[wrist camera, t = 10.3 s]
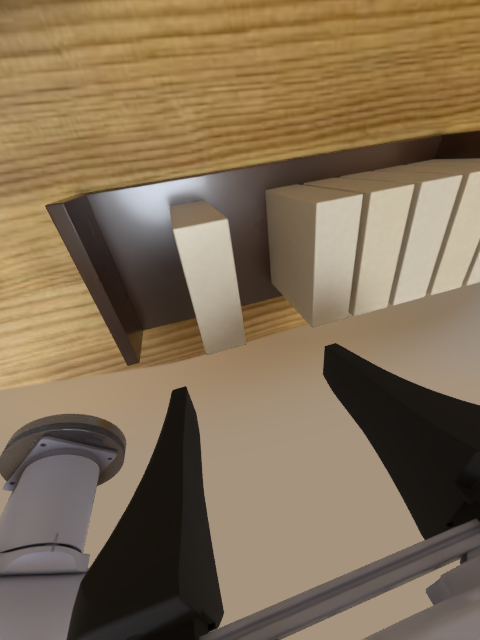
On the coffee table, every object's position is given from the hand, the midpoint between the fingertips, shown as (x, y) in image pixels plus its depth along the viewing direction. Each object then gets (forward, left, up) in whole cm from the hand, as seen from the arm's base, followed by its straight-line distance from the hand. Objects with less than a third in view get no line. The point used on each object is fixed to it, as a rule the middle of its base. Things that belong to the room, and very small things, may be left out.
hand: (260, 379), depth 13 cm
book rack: (+7, -1, -10) cm, 12 cm away
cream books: (+11, -4, -9) cm, 15 cm away
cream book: (+1, +4, -10) cm, 10 cm away
